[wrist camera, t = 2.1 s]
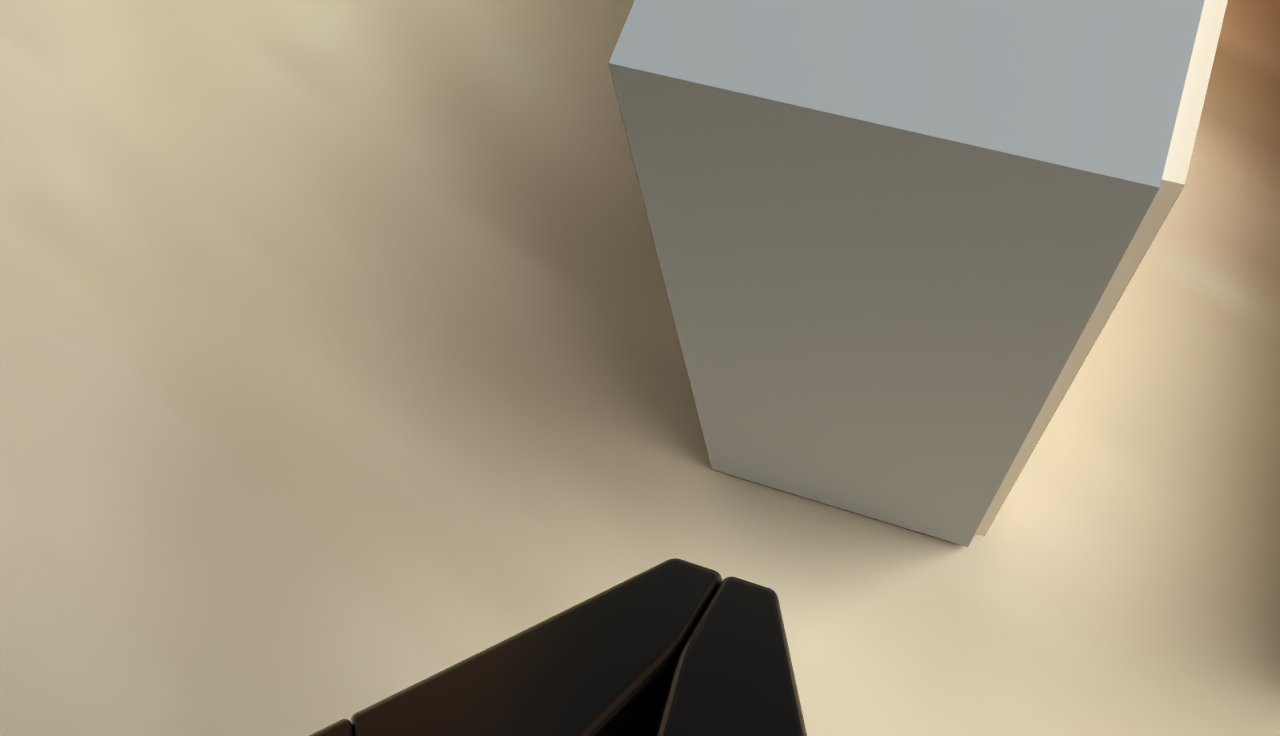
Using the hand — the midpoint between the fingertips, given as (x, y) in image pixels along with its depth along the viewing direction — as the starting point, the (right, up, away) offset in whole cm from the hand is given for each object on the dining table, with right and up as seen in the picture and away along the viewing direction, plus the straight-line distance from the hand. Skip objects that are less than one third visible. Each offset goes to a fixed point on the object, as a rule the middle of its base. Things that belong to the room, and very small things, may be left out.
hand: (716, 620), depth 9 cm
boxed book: (+5, +7, +14) cm, 16 cm away
